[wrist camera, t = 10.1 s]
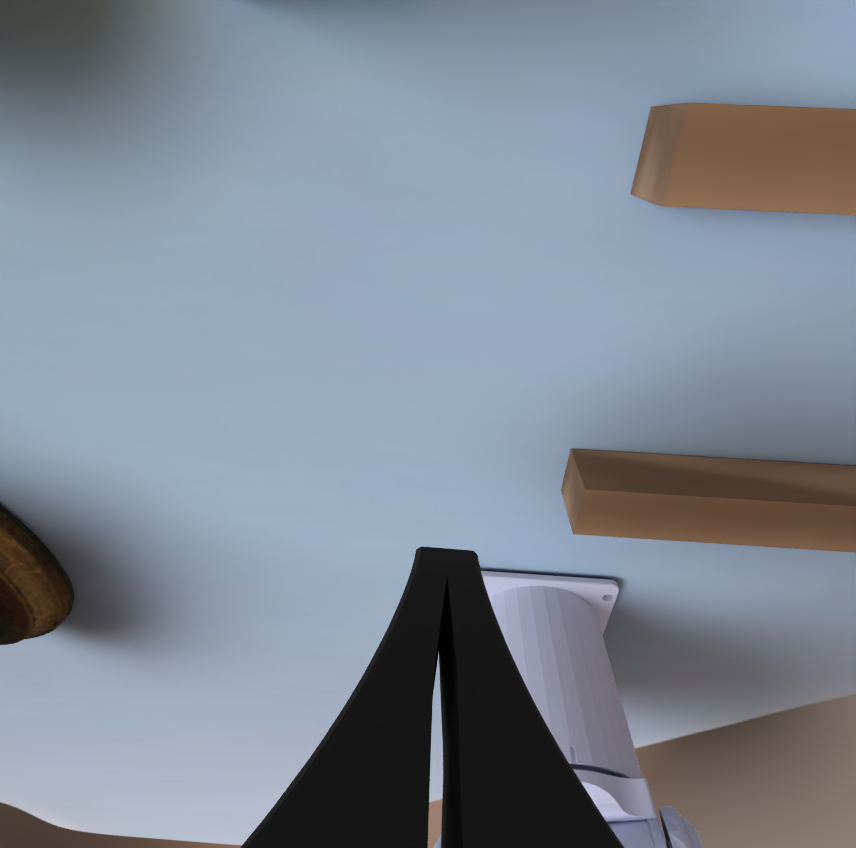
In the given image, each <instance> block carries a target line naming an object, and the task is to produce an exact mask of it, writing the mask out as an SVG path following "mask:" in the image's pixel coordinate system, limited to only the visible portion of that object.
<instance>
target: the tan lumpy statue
mask: <svg viewBox="0 0 856 848" xmlns="http://www.w3.org/2000/svg"><path fill="white" fill-rule="evenodd" d="M73 599H74V594H73V589H72V584H71V582H70V580H69V579H68V577H67V575H66V573H65V572H64V570H63V569H62V567H61V566H60V565H59V563H58V561H57V560H56V558H55V557H54V556H53V555H52V554H51V553H50V552H49V551H48V549H47V548H46V547H45V546H44V545H43V544H42V543H41V542H40V540H39V539H38V538H37V537H36V536H35V535H34V534H33V533H32V532H31V531H30V529H28V528H27V527H26V526H25V525H23V523H22V522H20V521H19V519H17V518H16V517H15V516H14V515H13V514H11V513H10V512H9V511H8V510H6V509H5V508H4V507H2V506H1V505H0V645H7V644H13V643H17V642H19V641H21V640H24V639H28V638H30V639H31V638H34V637H38V636H41V635H45V634H47V633H50V632H51V631H53V630H55V629H56V628H57V627H58V626H59V625H60V624H61V623H62V621H63V620H65V618H66V616H67V615H68V614H69V613H70V611H71V608H72V607H71V605H72V603H73Z"/></svg>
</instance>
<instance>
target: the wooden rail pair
mask: <svg viewBox="0 0 856 848" xmlns="http://www.w3.org/2000/svg"><path fill="white" fill-rule="evenodd" d="M631 195H634V196H636V197H639V198H641V199H644V200H647V201H649V202H652V203H654V204H657V205H659V206H667V207H690V208H712V209H734V210H756V211H779V212H801V213H823V214H846V215H856V109H836V108H810V107H784V106H759V105H733V104H707V103H682V104H673V105H664V106H655V107H651V110H650V114H649V118H648V123H647V127H646V131H645V135H644V140H643V144H642V148H641V152H640V157H639V161H638V165H637V170H636V174H635V178H634V182H633V187H632V191H631ZM561 492H562V496H563V499H564V503H565V507H566V510H567V514H568V517H569V521H570V524H571V528H572V532H573V534H581V535H596V536H611V537H627V538H642V539H658V540H673V541H688V542H704V543H719V544H735V545H750V546H765V547H781V548H796V549H812V550H827V551H842V552H856V466H850V465H833V464H817V463H800V462H783V461H767V460H750V459H733V458H716V457H700V456H683V455H666V454H649V453H633V452H616V451H599V450H583V449H571V451H570V455H569V459H568V464H567V468H566V472H565V476H564V481H563V485H562V489H561Z"/></svg>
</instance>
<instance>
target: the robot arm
mask: <svg viewBox="0 0 856 848" xmlns="http://www.w3.org/2000/svg"><path fill="white" fill-rule="evenodd" d="M618 593H619V587H618V584H617V582H616V581H614V580H609V579H594V578H579V577H565V576H550V575H535V574H520V573H505V572H491V571H481V570H480V565H479V561H478V555H477V554H476V553H475V552H474V551H469V550H457V549H444V548H432V547H420V548H418V549H417V550H416V554H415V559H414V563H413V567H412V570H411V573H410V576H409V579H408V582H407V585H406V587H405V590H404V593H403V595H402V598H401V600H400V602H399V605H398V607H397V609H396V611H395V614H394V616H393V618H392V620H391V623H390V625H389V627H388V629H387V631H386V633H385V635H384V637H383V639H382V641H381V643H380V645H379V647H378V649H377V651H376V652H375V654H374V656H373V658H372V660H371V662H370V664H369V666H368V667H367V669H366V671H365V673H364V675H363V676H362V678H361V680H360V681H359V683H358V685H357V687H356V688H355V690H354V692H353V693H352V695H351V696H350V698H349V700H348V701H347V703H346V705H345V706H344V708H343V709H342V711H341V712H340V714H339V716H338V717H337V719H336V720H335V722H334V723H333V725H332V726H331V728H330V729H329V731H328V732H327V734H326V735H325V737H324V738H323V740H322V741H321V743H320V744H319V746H318V747H317V749H316V750H315V751H314V753H313V754H312V756H311V757H310V758H309V760H308V761H307V763H306V764H305V765H304V767H303V768H302V769H301V771H300V772H299V773H298V775H297V776H296V777H295V779H294V780H293V781H292V783H291V784H290V785H289V787H288V788H287V789H286V791H285V792H284V793H283V795H282V796H281V798H280V799H279V800H278V802H277V803H276V804H275V806H274V807H273V808H272V809H271V811H270V812H269V813H268V814H267V816H266V817H265V818H264V820H263V821H262V822H261V823H260V824H259V826H258V827H257V828H256V829H255V831H254V832H253V833H252V834H251V835H250V837H249V838H248V839H247V840H246V841H245V843H244V844H243V845H242V846H241V848H427V844H428V843H427V841H428V813H429V812H428V811H429V781H430V752H431V724H432V698H433V689H434V682H435V674H436V667H437V659H438V652H439V664H440V689H441V712H442V736H443V803H442V832H441V835H440V836H439V840H438V841H437V843H436V844H435V846H434V848H704V847H703V844H702V842H701V839H700V837H699V835H698V833H697V831H696V829H695V827H694V826H693V825H692V824H690V823H689V822H688V821H687V820H686V819H684V818H683V817H682V816H680V815H679V813H678V811H677V810H676V809H675V808H674V807H671V806H668V807H659V813H660V818H661V822H662V826H663V831H664V834H665V838H666V843H665V839H664V836H663V833H662V830H661V827H660V824H659V821H658V817H657V813H656V810H655V807H654V803H653V799H652V796H651V792H650V789H649V785H648V782H647V780H646V779H645V778H643V777H642V774H641V770H640V767H639V763H638V760H637V756H636V752H635V749H634V745H633V742H632V738H631V735H630V731H629V728H628V724H627V720H626V717H625V713H624V710H623V706H622V703H621V699H620V696H619V692H618V689H617V685H616V681H615V678H614V674H613V671H612V667H611V664H610V660H609V657H608V653H607V650H606V646H605V642H604V639H603V634H604V631H605V628H606V626H607V623H608V620H609V617H610V615H611V612H612V609H613V607H614V604H615V601H616V599H617V596H618ZM666 845H667V846H666Z"/></svg>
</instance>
